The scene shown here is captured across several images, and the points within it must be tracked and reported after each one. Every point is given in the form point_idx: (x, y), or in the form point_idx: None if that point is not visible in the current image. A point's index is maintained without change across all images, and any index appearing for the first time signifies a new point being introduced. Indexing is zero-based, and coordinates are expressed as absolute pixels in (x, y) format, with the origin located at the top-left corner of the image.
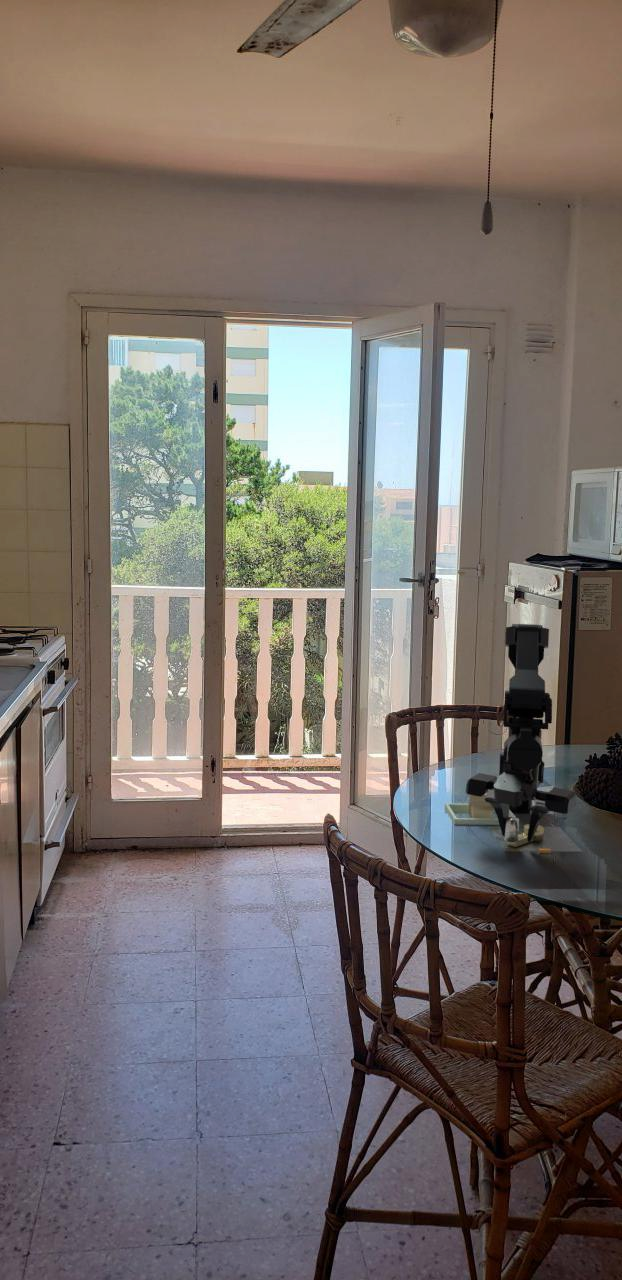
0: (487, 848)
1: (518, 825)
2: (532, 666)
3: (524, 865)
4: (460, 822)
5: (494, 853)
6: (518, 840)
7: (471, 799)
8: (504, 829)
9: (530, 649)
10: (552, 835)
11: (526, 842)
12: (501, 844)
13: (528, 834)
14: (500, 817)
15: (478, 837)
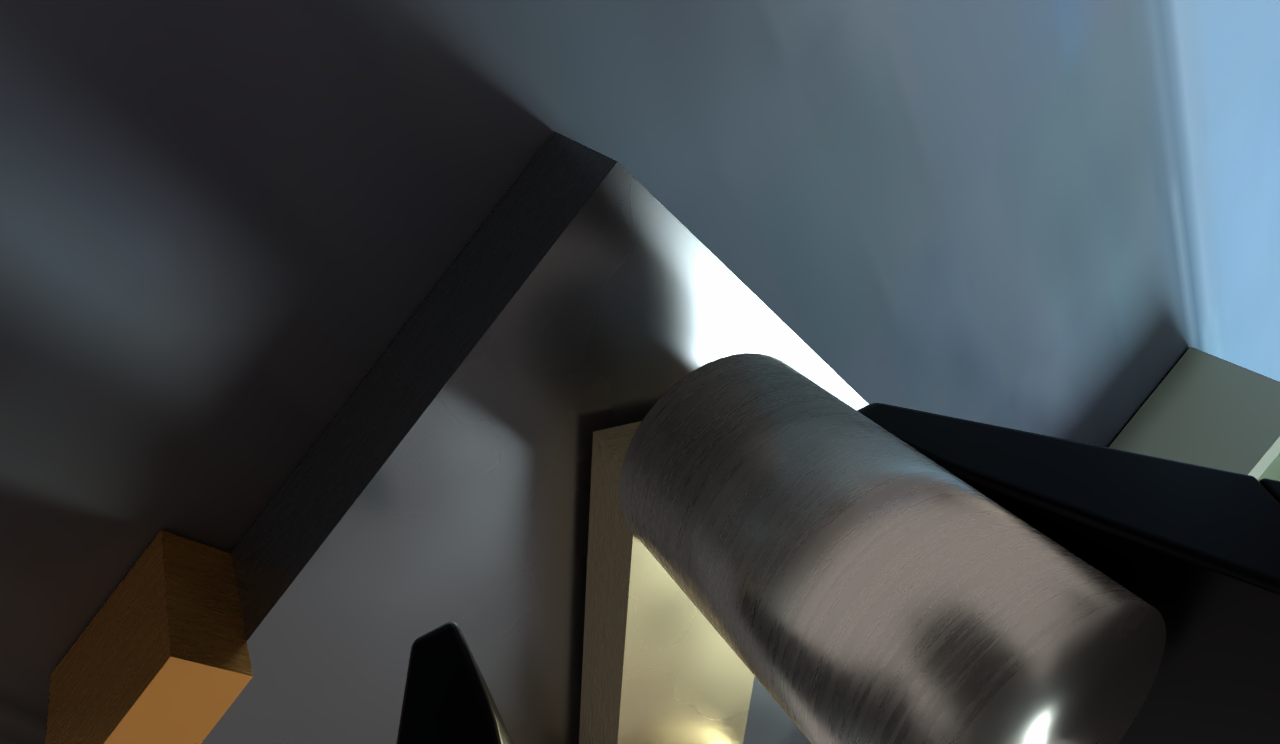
0: (881, 279)
1: (810, 733)
2: None
3: (130, 167)
4: (1242, 425)
5: (762, 214)
6: (636, 548)
7: None
8: (943, 462)
9: None
10: None
11: (587, 666)
12: (790, 353)
13: (473, 727)
14: (1276, 527)
15: (1026, 428)
